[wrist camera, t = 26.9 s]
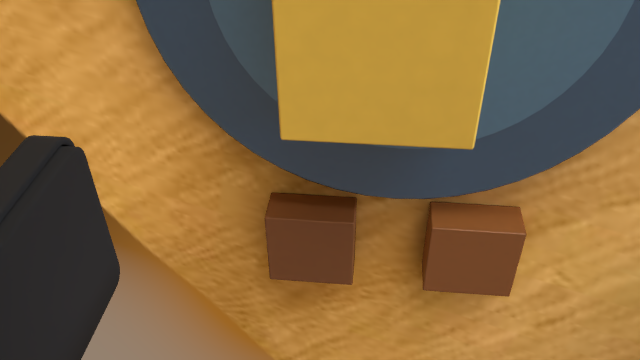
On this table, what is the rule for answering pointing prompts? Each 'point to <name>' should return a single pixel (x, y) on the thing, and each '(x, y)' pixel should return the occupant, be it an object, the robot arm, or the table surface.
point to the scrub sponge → (383, 70)
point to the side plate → (421, 162)
